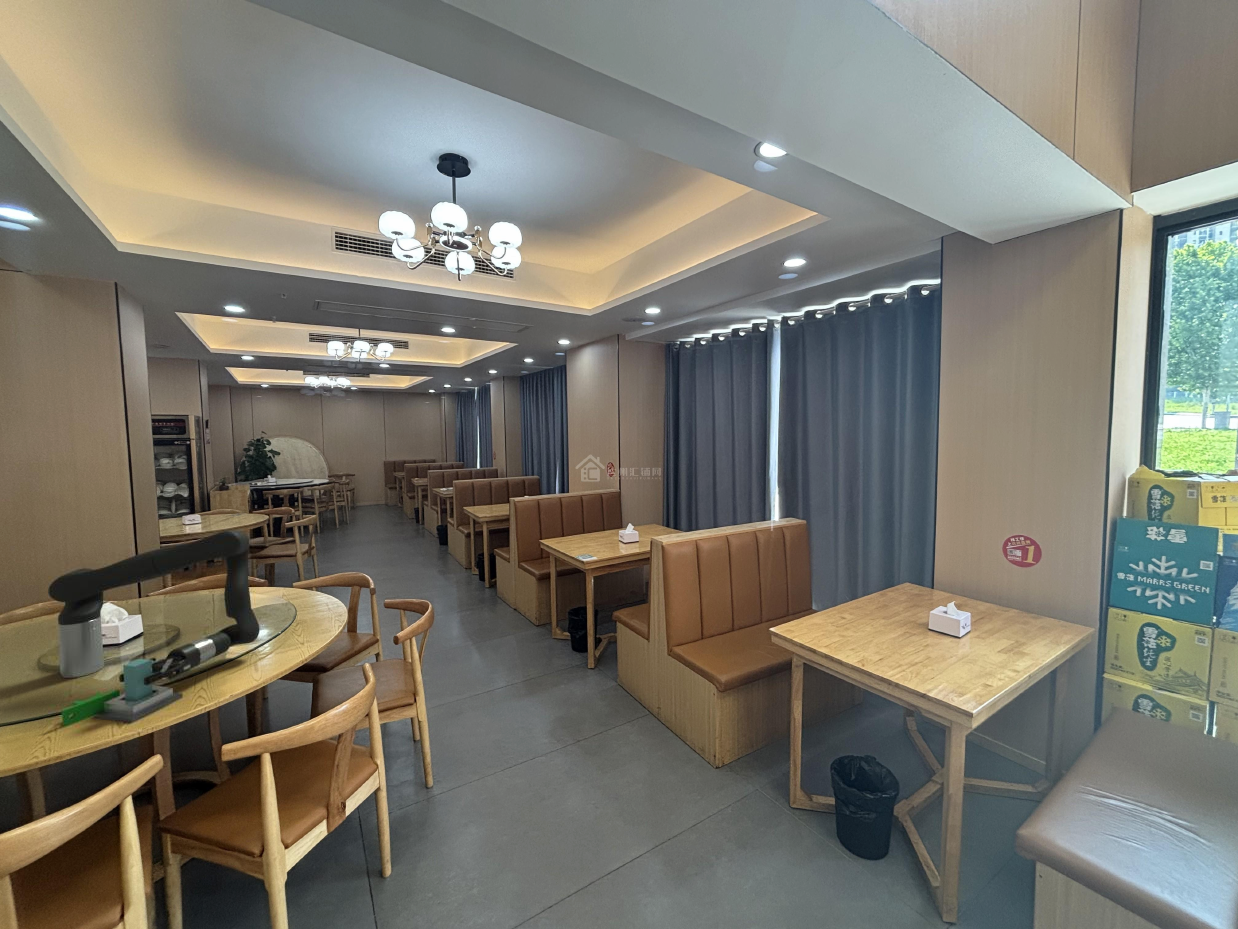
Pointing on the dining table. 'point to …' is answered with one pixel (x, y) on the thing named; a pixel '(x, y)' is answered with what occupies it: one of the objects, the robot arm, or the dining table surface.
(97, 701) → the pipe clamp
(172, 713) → the dining table surface
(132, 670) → the teal square peg
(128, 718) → the square socket plate
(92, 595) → the robot arm
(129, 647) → the dining table surface
